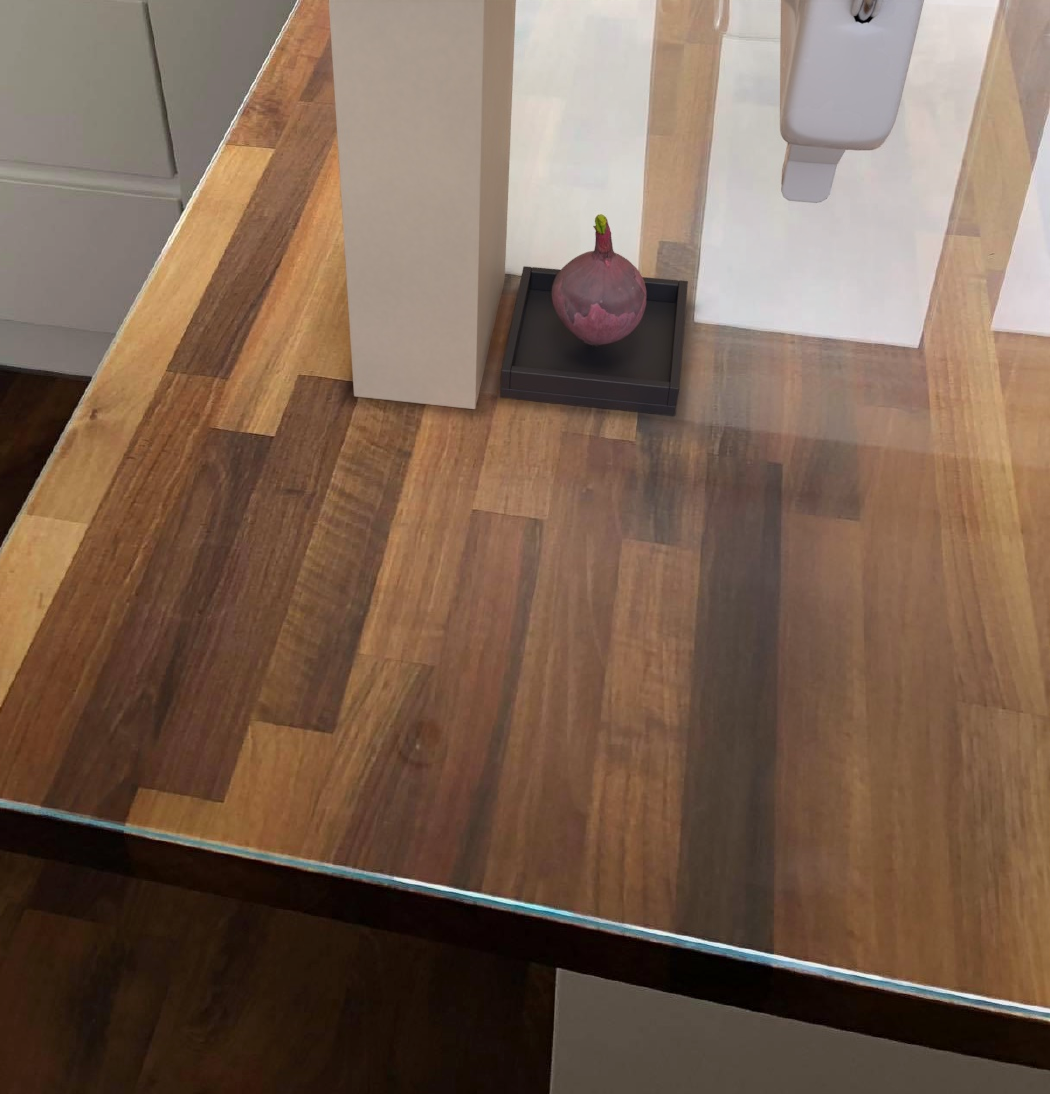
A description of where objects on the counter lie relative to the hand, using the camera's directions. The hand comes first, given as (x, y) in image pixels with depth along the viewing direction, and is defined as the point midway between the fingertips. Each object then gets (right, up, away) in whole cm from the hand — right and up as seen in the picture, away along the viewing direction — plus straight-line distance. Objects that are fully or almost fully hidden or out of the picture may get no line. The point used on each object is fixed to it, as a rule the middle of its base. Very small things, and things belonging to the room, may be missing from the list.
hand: (802, 127), depth 56 cm
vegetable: (-3, -4, +35) cm, 36 cm away
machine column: (-14, -3, +38) cm, 40 cm away
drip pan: (-3, -4, +36) cm, 36 cm away
